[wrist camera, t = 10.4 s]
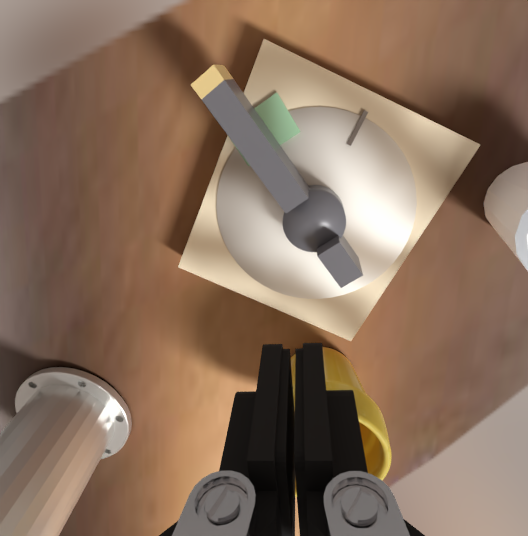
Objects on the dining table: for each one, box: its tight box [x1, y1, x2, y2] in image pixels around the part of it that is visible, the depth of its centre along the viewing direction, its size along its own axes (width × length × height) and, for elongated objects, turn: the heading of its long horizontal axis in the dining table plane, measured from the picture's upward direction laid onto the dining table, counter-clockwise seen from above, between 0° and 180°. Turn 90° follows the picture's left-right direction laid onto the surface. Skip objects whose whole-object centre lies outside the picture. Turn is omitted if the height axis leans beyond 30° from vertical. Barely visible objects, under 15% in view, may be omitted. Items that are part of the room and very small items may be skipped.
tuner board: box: [178, 39, 480, 341], centre depth 32 cm, size 18×16×2 cm
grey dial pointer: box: [191, 65, 363, 288], centre depth 28 cm, size 16×4×3 cm, turn 37°
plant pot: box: [291, 347, 391, 497], centre depth 36 cm, size 10×10×10 cm
